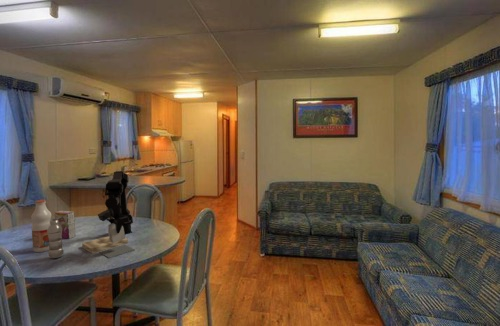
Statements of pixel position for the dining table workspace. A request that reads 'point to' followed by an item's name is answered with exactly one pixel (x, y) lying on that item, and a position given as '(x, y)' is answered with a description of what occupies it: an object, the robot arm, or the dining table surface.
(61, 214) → the candy bar box
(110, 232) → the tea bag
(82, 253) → the dining table surface
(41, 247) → the fruit juice
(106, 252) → the mat
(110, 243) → the holder
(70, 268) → the dining table surface
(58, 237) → the plastic bottle
